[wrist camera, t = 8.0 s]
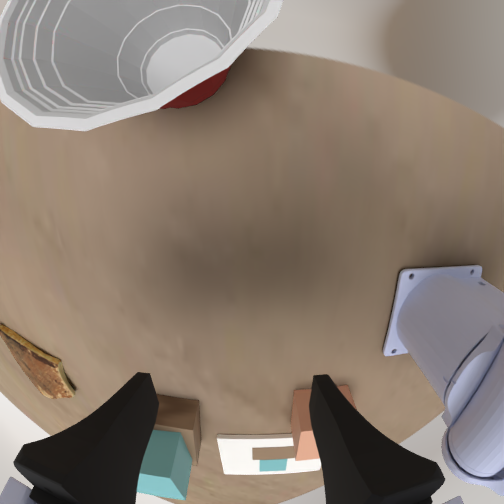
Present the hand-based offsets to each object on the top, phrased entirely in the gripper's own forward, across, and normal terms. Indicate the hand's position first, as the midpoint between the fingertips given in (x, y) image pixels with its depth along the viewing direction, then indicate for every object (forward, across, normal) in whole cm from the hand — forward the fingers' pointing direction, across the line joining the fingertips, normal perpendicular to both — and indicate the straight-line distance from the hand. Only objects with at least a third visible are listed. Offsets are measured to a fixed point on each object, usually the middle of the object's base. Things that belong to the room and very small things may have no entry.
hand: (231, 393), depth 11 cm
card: (+9, -3, +21) cm, 23 cm away
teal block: (+6, +8, +14) cm, 17 cm away
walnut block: (+10, +8, +14) cm, 19 cm away
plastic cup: (+10, +3, -16) cm, 19 cm away
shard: (+10, +24, +10) cm, 28 cm away
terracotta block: (+10, -7, +12) cm, 17 cm away
